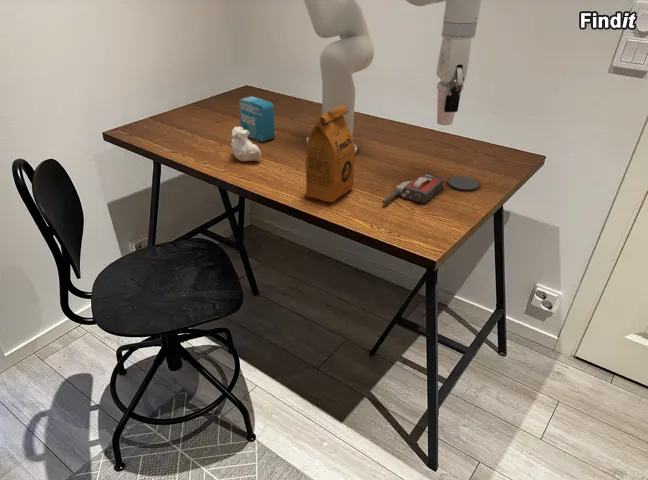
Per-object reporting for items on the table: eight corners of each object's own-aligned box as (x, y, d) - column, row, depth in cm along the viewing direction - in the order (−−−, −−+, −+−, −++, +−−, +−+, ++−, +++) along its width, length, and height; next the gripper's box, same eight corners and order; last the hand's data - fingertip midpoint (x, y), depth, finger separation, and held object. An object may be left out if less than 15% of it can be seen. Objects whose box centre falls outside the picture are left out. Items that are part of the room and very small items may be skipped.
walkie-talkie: (415, 179, 142) (379, 206, 129) (417, 163, 139) (380, 190, 126) (445, 187, 137) (411, 216, 124) (448, 171, 135) (413, 199, 122)
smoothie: (458, 127, 129) (468, 69, 121) (431, 126, 130) (440, 68, 122) (456, 119, 134) (466, 62, 126) (431, 118, 136) (439, 62, 128)
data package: (240, 134, 173) (238, 98, 166) (251, 131, 176) (249, 95, 169) (264, 143, 166) (263, 105, 159) (275, 139, 168) (274, 102, 162)
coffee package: (359, 191, 136) (365, 107, 124) (331, 208, 129) (334, 120, 116) (329, 181, 142) (331, 100, 129) (300, 196, 134) (300, 112, 121)
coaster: (452, 191, 135) (452, 189, 135) (444, 178, 142) (444, 176, 141) (482, 191, 135) (483, 189, 135) (473, 178, 142) (474, 176, 141)
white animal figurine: (233, 160, 160) (212, 138, 151) (247, 141, 161) (227, 118, 152) (257, 172, 153) (237, 149, 144) (272, 151, 153) (253, 128, 144)
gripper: (434, 24, 127) (424, 98, 137) (452, 37, 113) (440, 118, 123) (464, 23, 127) (453, 97, 137) (486, 36, 113) (471, 118, 123)
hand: (447, 106), depth 130 cm, fingers closed on smoothie, 6 cm apart
